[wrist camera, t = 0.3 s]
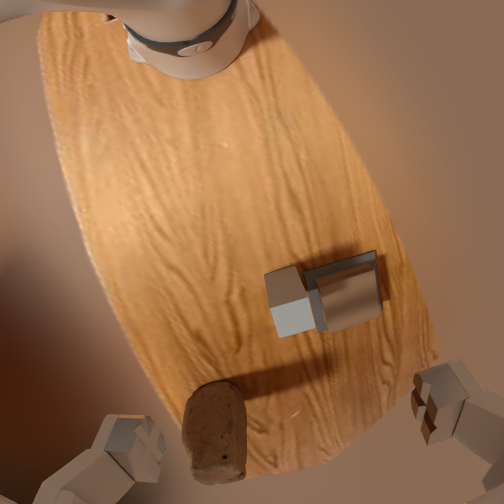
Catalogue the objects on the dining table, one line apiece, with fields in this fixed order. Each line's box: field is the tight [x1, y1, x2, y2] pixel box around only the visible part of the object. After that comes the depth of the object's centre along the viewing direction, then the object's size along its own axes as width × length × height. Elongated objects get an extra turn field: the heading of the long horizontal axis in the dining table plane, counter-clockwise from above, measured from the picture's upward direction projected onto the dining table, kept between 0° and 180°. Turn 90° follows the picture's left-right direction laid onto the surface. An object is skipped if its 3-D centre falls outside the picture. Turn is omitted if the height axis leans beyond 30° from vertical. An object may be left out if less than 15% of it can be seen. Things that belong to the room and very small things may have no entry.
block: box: [182, 382, 247, 485], centre depth 49 cm, size 11×8×20 cm
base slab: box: [315, 262, 380, 333], centre depth 50 cm, size 9×9×3 cm
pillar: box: [264, 266, 315, 338], centre depth 46 cm, size 5×5×10 cm
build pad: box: [304, 250, 382, 333], centre depth 51 cm, size 12×12×1 cm
